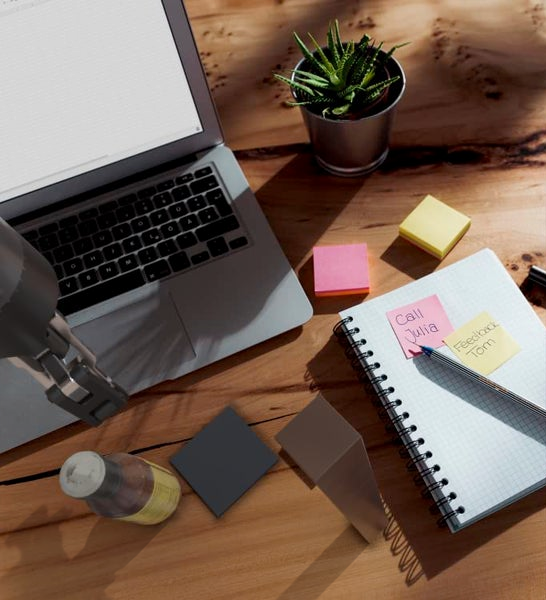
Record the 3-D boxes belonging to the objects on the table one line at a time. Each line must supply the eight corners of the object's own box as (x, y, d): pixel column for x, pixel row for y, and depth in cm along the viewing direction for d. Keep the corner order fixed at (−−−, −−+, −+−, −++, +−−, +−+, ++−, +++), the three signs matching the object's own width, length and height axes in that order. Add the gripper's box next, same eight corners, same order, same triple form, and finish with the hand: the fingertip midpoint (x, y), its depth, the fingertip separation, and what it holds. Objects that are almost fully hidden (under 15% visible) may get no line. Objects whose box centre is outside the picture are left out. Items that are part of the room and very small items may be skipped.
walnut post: (370, 543, 73) (315, 482, 31) (351, 523, 74) (272, 437, 31) (389, 523, 74) (361, 436, 31) (370, 503, 74) (319, 393, 32)
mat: (219, 517, 74) (217, 517, 73) (170, 460, 77) (168, 459, 76) (279, 460, 76) (278, 459, 76) (230, 406, 79) (229, 405, 79)
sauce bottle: (119, 495, 75) (26, 465, 57) (165, 458, 77) (89, 417, 59) (150, 540, 73) (64, 525, 55) (197, 501, 75) (128, 474, 57)
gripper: (-177, 229, 36) (-7, 334, 51) (-49, 412, 32) (95, 468, 47) (-53, 150, 38) (75, 273, 53) (82, 312, 34) (181, 396, 49)
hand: (85, 364), depth 50 cm, fingers open, 8 cm apart
